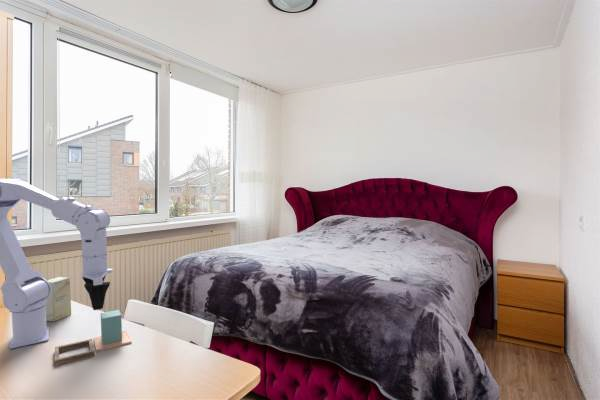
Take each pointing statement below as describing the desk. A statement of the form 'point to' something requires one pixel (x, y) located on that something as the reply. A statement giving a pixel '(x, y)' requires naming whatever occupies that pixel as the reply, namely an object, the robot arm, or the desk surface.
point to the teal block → (111, 327)
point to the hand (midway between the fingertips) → (96, 304)
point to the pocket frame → (77, 356)
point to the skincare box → (58, 299)
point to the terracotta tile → (100, 346)
